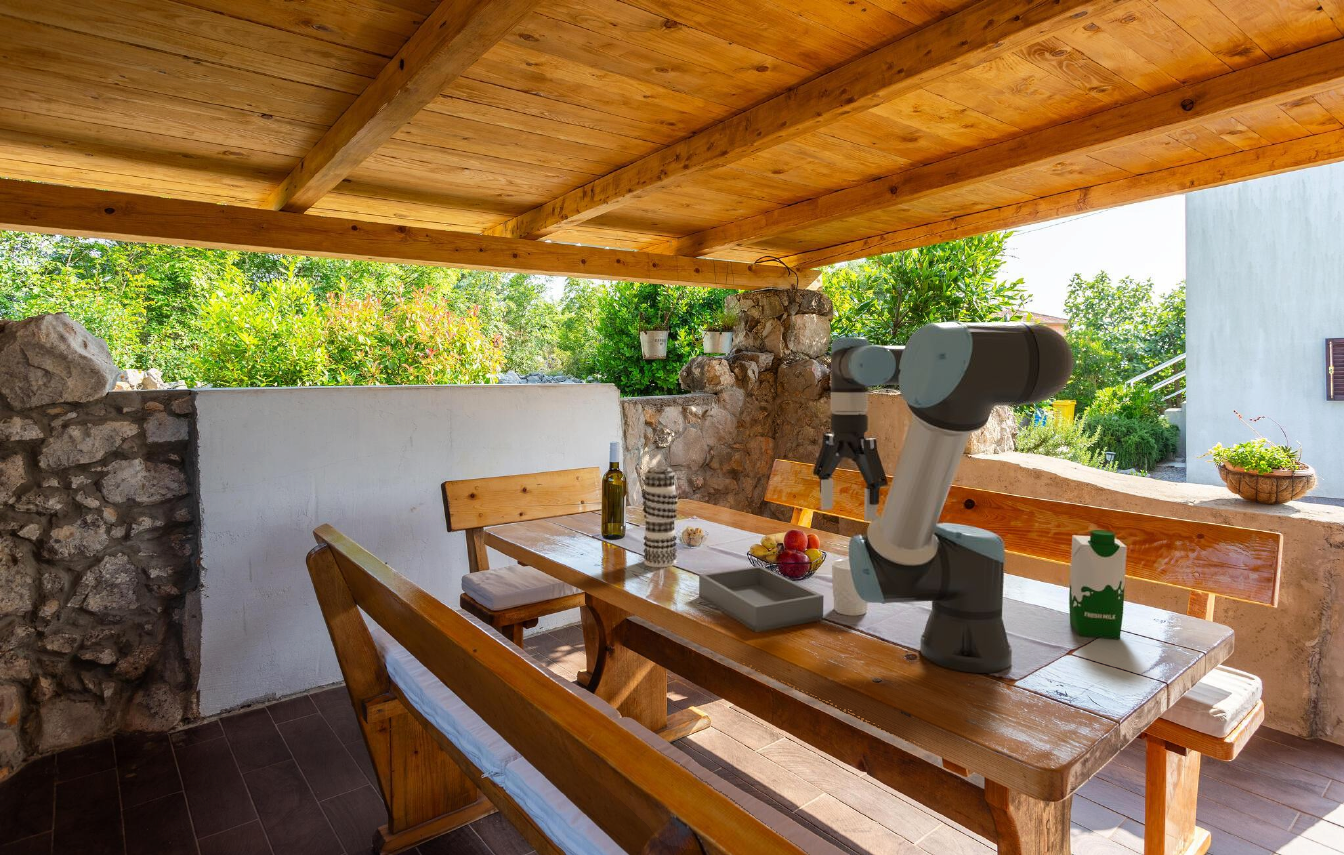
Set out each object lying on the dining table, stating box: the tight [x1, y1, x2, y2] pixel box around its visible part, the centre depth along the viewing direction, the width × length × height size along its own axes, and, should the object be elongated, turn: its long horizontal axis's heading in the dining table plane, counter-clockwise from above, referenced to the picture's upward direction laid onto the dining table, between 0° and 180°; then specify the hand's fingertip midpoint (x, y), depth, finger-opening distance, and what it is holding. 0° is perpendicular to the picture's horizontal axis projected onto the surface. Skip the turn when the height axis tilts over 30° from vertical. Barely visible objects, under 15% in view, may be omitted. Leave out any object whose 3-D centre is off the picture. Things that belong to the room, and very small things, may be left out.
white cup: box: [831, 558, 868, 617], centre depth 155 cm, size 8×8×10 cm
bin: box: [698, 565, 825, 633], centre depth 157 cm, size 24×16×5 cm, turn 25°
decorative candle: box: [641, 466, 678, 568], centre depth 191 cm, size 9×9×25 cm
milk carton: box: [1068, 529, 1128, 640], centre depth 142 cm, size 9×9×20 cm
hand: (847, 514), depth 154 cm, fingers open, 13 cm apart
